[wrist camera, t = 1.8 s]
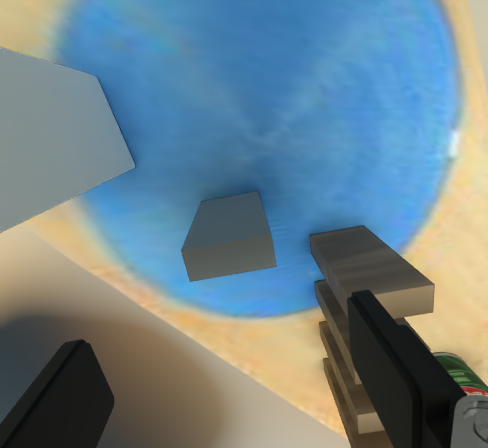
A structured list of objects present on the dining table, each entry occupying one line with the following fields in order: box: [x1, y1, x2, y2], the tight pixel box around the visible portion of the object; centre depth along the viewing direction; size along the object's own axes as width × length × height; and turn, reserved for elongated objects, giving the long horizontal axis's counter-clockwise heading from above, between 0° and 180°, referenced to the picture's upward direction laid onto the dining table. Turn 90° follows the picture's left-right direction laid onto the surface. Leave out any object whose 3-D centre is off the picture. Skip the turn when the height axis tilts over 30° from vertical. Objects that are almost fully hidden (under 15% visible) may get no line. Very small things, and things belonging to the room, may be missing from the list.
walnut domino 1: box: [309, 225, 435, 319], centre depth 22 cm, size 2×5×10 cm, turn 100°
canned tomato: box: [433, 353, 488, 396], centre depth 28 cm, size 8×8×11 cm
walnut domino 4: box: [323, 358, 394, 448], centre depth 27 cm, size 2×5×10 cm, turn 101°
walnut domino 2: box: [315, 279, 431, 385], centre depth 24 cm, size 2×5×10 cm, turn 100°
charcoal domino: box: [181, 191, 277, 282], centre depth 21 cm, size 2×5×10 cm, turn 101°
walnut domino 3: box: [319, 321, 385, 434], centre depth 25 cm, size 2×5×10 cm, turn 100°
